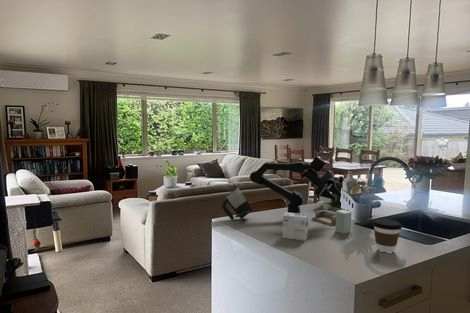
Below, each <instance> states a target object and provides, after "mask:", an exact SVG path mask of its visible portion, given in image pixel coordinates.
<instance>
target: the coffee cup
mask: <svg viewBox="0 0 470 313" xmlns="http://www.w3.org/2000/svg"><path fill="white" fill-rule="evenodd" d="M372 226H373V227H374V230H373V232H374V240H375V245H376V250H377V251H378V250H379V251H378V252H380V251H382V252H389V253H390V252H395V251H396V246H397V245H398V242H399V240H398V239H399V236H400V230H402V228H403V226H402V224H401V223H400V222H399V221H398V220H393V219H388V218H378V219H374V220H373V222H372ZM382 252H381V253H382ZM390 254H391V253H390Z"/></svg>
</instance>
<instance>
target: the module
mask: <svg viewBox="0 0 470 313" xmlns="http://www.w3.org/2000/svg"><path fill="white" fill-rule="evenodd" d="M335 213H336V224H335V229H334V230H335V232H336V233H339V234H343V235H345V234H348V233H351V232H352V231H351V227H352V211H349V210H344V209H340V210H339V209H338V210H336V211H335Z"/></svg>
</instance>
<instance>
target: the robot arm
mask: <svg viewBox="0 0 470 313" xmlns="http://www.w3.org/2000/svg"><path fill="white" fill-rule="evenodd" d="M326 165H327V162H326V161H325V160H324V159H322V158H320V157H318V156H317V155H315V156H314V158H313V160H311V162H310V163H307V162H303V161H295V162H289V163H287V162H285V163H284V162H264V163H263V164H262V165H261V166H260V167H259V168H258V169H257V170H255V171H253V172H251V173H250V175H249V179H250V181H251V182H253V183H255V184H258V185H262V186H265V187H266V188H268V189H270V190H272V191H273V192H275V193H277V194H279V195H281V196H282V197H284V198H286V199H287V200H288V201H289V202H288V204H287V212H288V213H299V214H301V208H300V206H301V205H302V204H303V202H304V197H303V195H302V194H301V192H298V191H297V190H296V189H293V191H291V190H289V189H286V188H285V187H283V186H281V185H279V184H278V183H276V182H274V181H272V180H271V179H268V178H267V176H265V173H266V172H267V171H270V170H271V171H289V172H293V173H298V174H300V179H301V180H305V178H306V180H308V181H309V182H310V183H311V186H315V187H316V189H315V190H314V195H316V197H317V196H319V195H320V196H321V197H325V198H329V199H332V200H336V198H335V197H334V196H333V195H332V194H331V193H334V194H336V195H339V196H341V193H340V192H339V190H338V189H337V188H336V186H335V183H336V182H335V180H336V179H334V177H335V174H334V173H335V172H334V171H332V170H330V169H328V170H327V171H326V172H325V174H323V175H322V174H319V173H317V172H321V171H322V170H323V168H325V166H326ZM328 179H329V180H328ZM330 192H331V193H330Z"/></svg>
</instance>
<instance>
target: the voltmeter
mask: <svg viewBox="0 0 470 313" xmlns="http://www.w3.org/2000/svg"><path fill="white" fill-rule="evenodd" d="M328 180H329V179H328ZM334 180H335V182H336V183H335V186H336V188H337V189H338V190H339V192H340V191H341V187H342V182H343V181H344V176H341V175H339V179H334ZM324 203H326V202H324ZM330 205H334V206H337V207H339V208H340V207H341V202H340V196H339V195H337V201H335V202H333V203H330Z"/></svg>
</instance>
